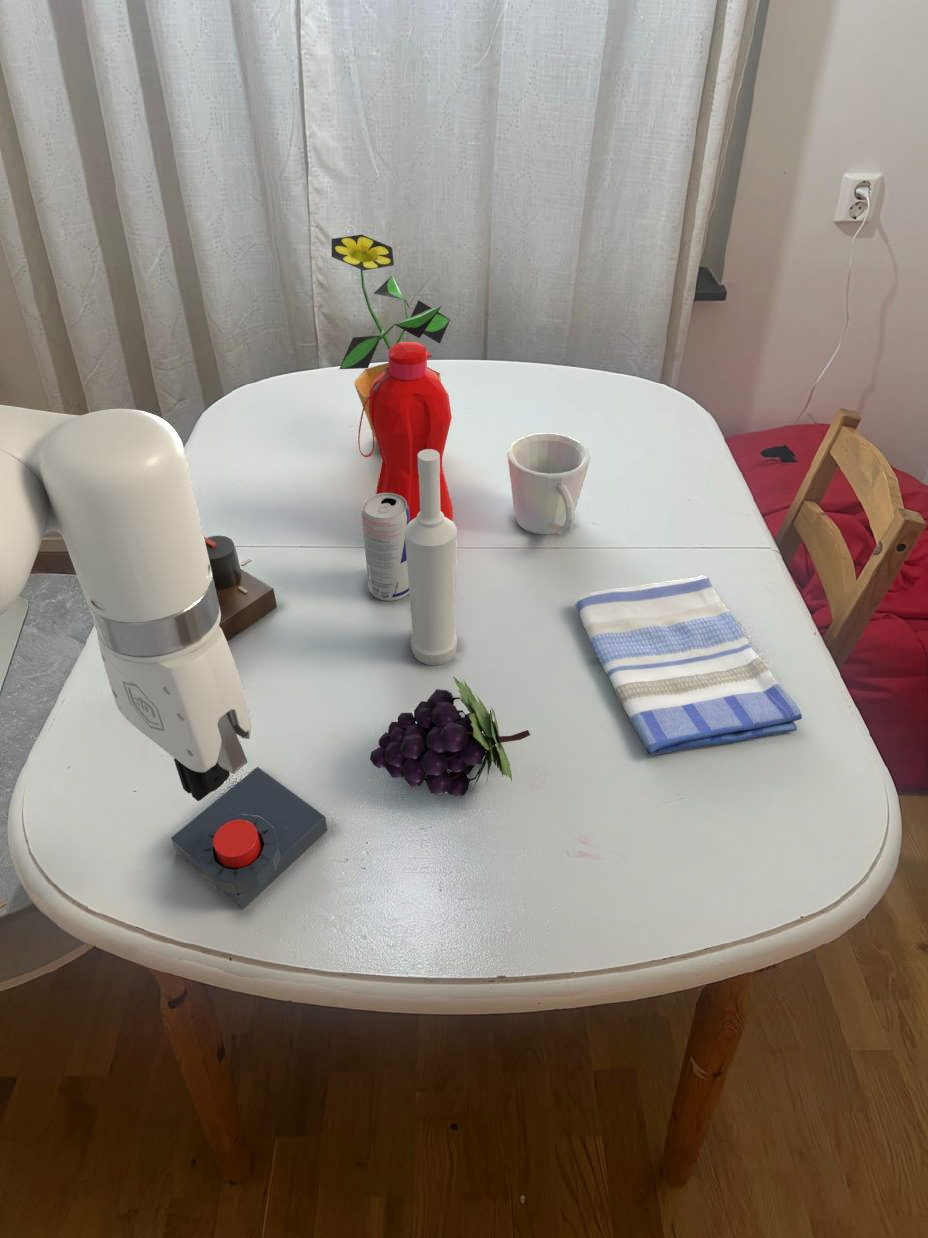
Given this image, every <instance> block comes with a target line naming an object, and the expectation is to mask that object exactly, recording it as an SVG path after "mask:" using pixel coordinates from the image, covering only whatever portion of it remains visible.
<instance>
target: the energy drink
mask: <svg viewBox="0 0 928 1238" xmlns="http://www.w3.org/2000/svg"><path fill="white" fill-rule="evenodd" d="M361 522H362V523H361V524H362V534H363V543H364V552H365V553H364V555H365V563H366V564H365V565H366V574H367V575H366V576H367V586H368V591H369V592H370V594H371V595H372V596H374V597H375V598H377V599H378V600H381V601H385V602H393V601H398V600H401V599H405V597H407V596H409V595H410V594H409V581H408V569H407V556H406V544H405V527H406V525H407V524H408V523H409V522H410V510H409V507H408V505H407V502H406V500H405V499H404V498H403V497H401V496H400V495H397V494H393V493H380V494H376V493H375V494H373V495H370V496H369V497H367V498H366V499H365V500H364V501H363V504H362V509H361Z"/></svg>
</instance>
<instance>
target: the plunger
mask: <svg viewBox="0 0 928 1238" xmlns="http://www.w3.org/2000/svg"><path fill="white" fill-rule="evenodd" d="M213 844H214V848H215V851H216V854H217V857H218V859H219V861H220V862H221V863H222V864H223V865H224V866H226V867H229V868H241V867H245V866H247V865H249V864H250V863H252V862H253V861H254V860H255V859H256V858H257V856H258V854H259V852H260V848H261V844H260V840H259V836H258V833H257V830H256V828H255V826H254V825H253V824H252V823H250V822H248V821H245V820H234V821H230V822H228V823H226V824H224V825H223V826H221V827H220V828H219V829H218V831H217V832H216V834H215V836H214V840H213Z"/></svg>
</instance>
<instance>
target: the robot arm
mask: <svg viewBox="0 0 928 1238" xmlns="http://www.w3.org/2000/svg"><path fill="white" fill-rule="evenodd" d="M189 467H190V466H189V463H188V459H187V455H186V450H185V448H184V444H183V441H182V439H181V437H180V435H179V434H178V432H177V431H176V429H174V426H172V425H171V424H170V423H169V422H167V421H166V420H165V419H163V417H162V418H161V417H160V416H158V415H156V414H153V413H150V412H147V411H145V410H144V411H143V410H139V409H131V408H112V409H111V408H110V409H102V410H96V411H92V412H87V413H85V414H81V415H79V414H69V413H59V412H52V411H47V410H38V409H31V408H26V407H19V406H12V405H5V404H0V617H1V616H2V615H4V614H5V613H6V612H7V611H8V610H9V609H10V608H11V607H12V606H13V605H14V604H15V603H16V602H17V600H18V599H19V597H20V596H21V594H22V592H23V590H24V588H25V586H26V584H27V582H28V579H29V577H30V576H31V575H30V574H31V572H32V569H33V567H34V564H35V561H36V558H37V556H38V553H39V550H40V547H41V545H42V542H43V539H44V537H45V536H46V535H47V534H49V533H51V532H57V533H59V534H60V535H61V536H62V539H63V541H64V544H65V547H66V550H67V552H68V553H67V554H68V555H69V558H70V561H71V563H72V566H73V569H74V572H75V574H76V577H77V580H78V582H79V586H80V588H81V591H82V593H83V597H84V599H85V603H86V605H87V608H88V611H89V614H90V616H91V619H92V621H93V624H94V625H93V626H94V628H95V631H96V635H97V641H98V646H99V650H100V655H101V658H102V663H103V665H104V669H105V673H106V675H107V679H108V683H109V686H110V689H111V692H112V696H113V698H114V701H115V705H116V707H117V709H118V710H119V712H120V713H121V714H122V716H123V717H124V718H125V719H126V720H127V721H128V722H130V724H132V725H133V726H134V727H135V728H136V729H138V730H139V731H140V732H141V733H143V735H145V736H146V737H147V738H149V739H150V740H151V741H152V742H153V743H155V745H157V746H158V747H160V748H161V749H162V750H163V751H165V752H166V753H167V754H168V755H170V756H171V757H172V758H173V761H174V763H175V767H176V771H177V773H178V777H179V780H180V783H181V786H182V789H183V790H184V791H185V792H186V793H187V794H191V797H192V798H193V799H195V800H196V801H197V802H200V801H201V800H203V799H204V798H206V797H207V796H208V795H209V794H210V793H213V792H215V791H216V790H218V789H219V788H220V787H221V786H222V785H223V784H224V783H225V782H226V781H227V780H228V779H229V778H230V775H231V774H232V775H233V774H235V773H237V772H238V771H239V770H241V769H242V768H243V767H244V766H246V765H247V764H248V758H247V757H246V754H245V751H244V749H243V747H242V744H241V742H240V740H239V738H238V737H241V738H242V739H244V740H245V739H246V740H249V739H250V738H251V734H252V720H251V714H250V709H249V705H248V701H247V698H246V693H245V691H244V687H243V683H242V680H241V677H240V674H239V670H238V668H237V665H236V661H235V659H234V656H233V654H232V651H231V648H230V646H229V642H227V641H226V638H225V636H224V634H223V631H222V629H221V628H220V627H219V623H220V619H221V612H220V606H219V602H218V598H217V593H216V589H215V584H214V580H213V575H212V570H211V566H210V561H209V557H208V553H207V548H206V544H205V539H204V537H205V535H204V530H203V526H202V522H201V517H200V513H199V508H198V504H197V499H196V495H195V491H194V485H193V480H192V476H191V472H190V468H189Z"/></svg>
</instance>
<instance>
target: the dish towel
mask: <svg viewBox="0 0 928 1238" xmlns="http://www.w3.org/2000/svg"><path fill="white" fill-rule="evenodd" d="M575 607H576V610H577V612H578V614H579V616H580V619H581V623H582V625H583V627H584V630H585V632H586V634H587V636H588V639H589V642H590V645H591V646H592V649H593V651H594V654H595V656H596V657H597V660H598V661H599V663H600V665H601V667H602V669H603V670H604V672H605V674H606V675H607V676H608V679H609V680H610V682H611V685H612V687H613V689H614V692H615V694H616V697H617V698H618V701H619V702H620V704H621V706H622V707H623V709H624V711H625V712H626V714H627V716H628V718H629V720H630V722H631V724H632V726H633V727H634V729H635V731H636V733H637V735H638V737H639V739H640V741H641V743H642V744H643V746H644V748H645V749H646V751H647V753H648V754H650V755H661V754H665V753H670V752H676V751H680V750H686V749H694V748H700V747H709V746H714V745H715V746H716V745H720V744H729V743H730V744H731V743H736V742H740V741H744V740H748V739H755V738H760V737H764V736H765V737H766V736H771V735H778V734H783V733H790V732H797V729H798V728H797V725H796V723H795V722H796V721H799V720H802V717H803V714H802V712H801V709H800V707H799V706H798V705H797V703H796V702H795V700H794V699H793V698H792V697H791V696H790V694H788V692H787V691H786V690H785V689H784V688H783V687H782V685H781V684H780V683H779V682H778V681H777V680H776V679H775V677H774V675H773V674H772V673H771V670H770V668H769V667H768V665H767V663H766V662H765V660H764V659H763V658H762V657H761V656H759V655H758V654H757V653H756V652H755V650H754V649H753V648H752V646H751V645H750V643H749V641H748V638H747V635H746V633H745V631H744V630H743V628H742V626H741V625H740V623H739V621H738V620H737V619H736V617H735V616H734V615H733V613H732V612H731V610H729V609H728V608H727V606H726V605H725V603H724V602H723V600H722V599H721V598H720V597H719V595H718V593H717V592H716V590H715V589H714V588H713V584H712V582H711V580H710V578H709V577H707V576H704V575H702V574H701V575H699V576H696V577H689V578H688V577H687V578H686V577H685V578H678V579H672V580H665V581H659V582H651V583H645V584H642V585H636V586H629V587H622V588H619V587H613V588H609V589H602V590H597V591H592V592H588V593H586V594H583V595H581V596H579V597H578V599H577V600H576V601H575Z"/></svg>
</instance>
